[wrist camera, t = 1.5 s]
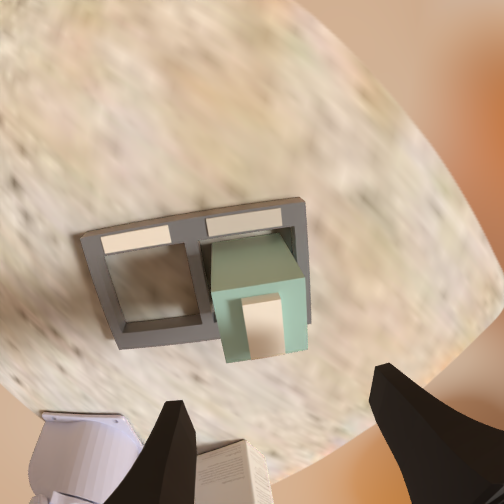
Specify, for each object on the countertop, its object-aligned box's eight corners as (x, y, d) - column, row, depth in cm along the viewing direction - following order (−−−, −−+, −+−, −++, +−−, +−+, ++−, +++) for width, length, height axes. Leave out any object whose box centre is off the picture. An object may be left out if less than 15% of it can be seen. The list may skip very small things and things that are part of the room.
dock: (122, 339, 21) (118, 350, 19) (86, 231, 18) (79, 238, 16) (306, 313, 21) (311, 324, 20) (299, 197, 18) (305, 202, 17)
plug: (222, 301, 20) (227, 371, 14) (211, 242, 19) (210, 299, 13) (284, 291, 21) (311, 357, 14) (279, 232, 19) (308, 283, 13)
